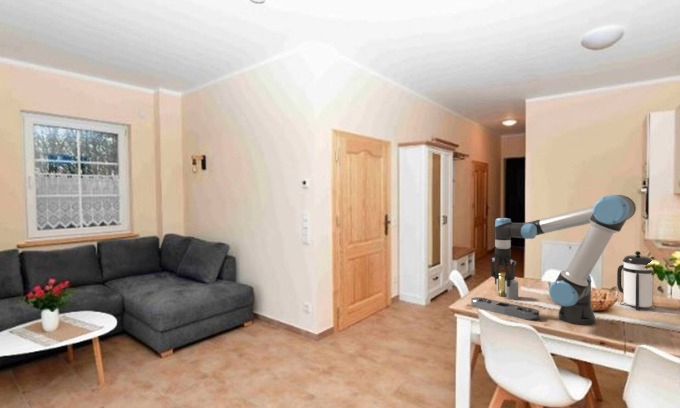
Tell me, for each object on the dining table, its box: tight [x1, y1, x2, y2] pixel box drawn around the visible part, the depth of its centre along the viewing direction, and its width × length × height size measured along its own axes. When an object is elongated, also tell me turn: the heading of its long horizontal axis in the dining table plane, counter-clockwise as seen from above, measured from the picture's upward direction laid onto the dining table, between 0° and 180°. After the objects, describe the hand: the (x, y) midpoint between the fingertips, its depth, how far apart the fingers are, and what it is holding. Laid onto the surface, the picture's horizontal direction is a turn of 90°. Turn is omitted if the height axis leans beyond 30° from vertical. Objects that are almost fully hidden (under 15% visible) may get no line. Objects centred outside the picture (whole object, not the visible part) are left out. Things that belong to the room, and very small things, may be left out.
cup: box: [502, 279, 519, 301], centre depth 215 cm, size 8×8×10 cm
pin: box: [498, 272, 507, 298], centre depth 191 cm, size 5×5×12 cm
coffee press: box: [616, 250, 657, 311], centre depth 195 cm, size 17×16×30 cm
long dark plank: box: [470, 296, 540, 322], centre depth 191 cm, size 35×9×4 cm, turn 41°
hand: (502, 291), depth 191 cm, fingers closed on pin, 4 cm apart
